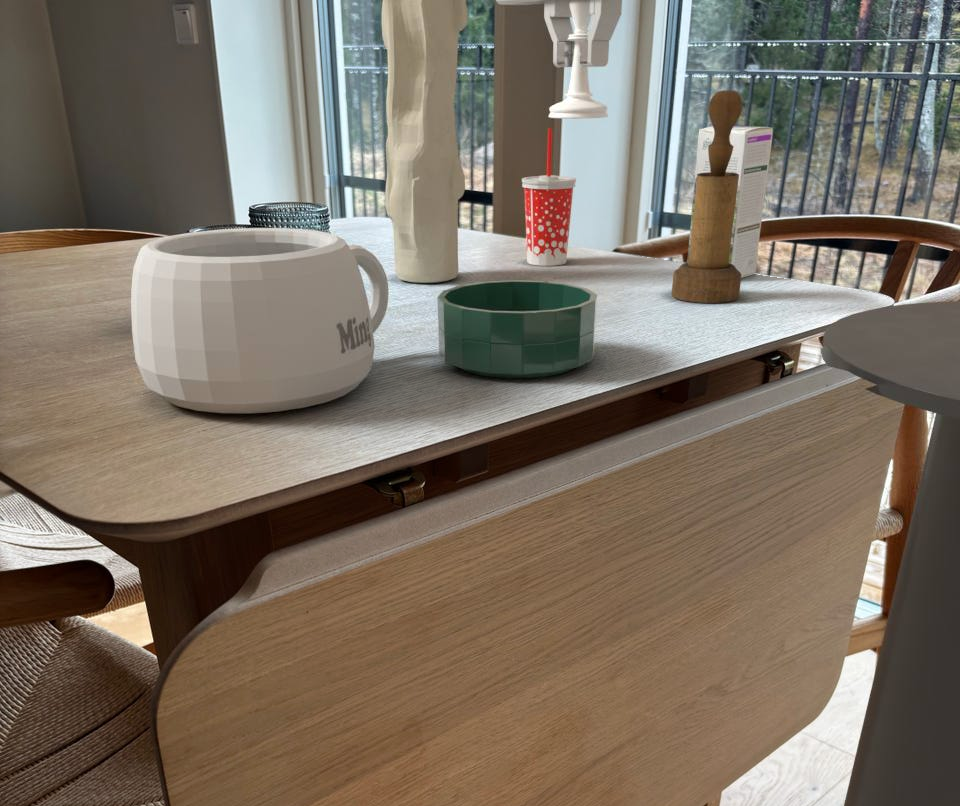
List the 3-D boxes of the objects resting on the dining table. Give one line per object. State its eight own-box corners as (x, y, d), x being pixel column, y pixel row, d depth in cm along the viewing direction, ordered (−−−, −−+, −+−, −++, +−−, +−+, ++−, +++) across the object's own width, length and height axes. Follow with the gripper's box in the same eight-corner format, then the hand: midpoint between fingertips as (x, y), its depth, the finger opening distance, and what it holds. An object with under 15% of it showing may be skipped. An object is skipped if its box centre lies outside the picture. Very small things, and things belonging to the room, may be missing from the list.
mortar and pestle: (683, 304, 94) (704, 91, 85) (662, 291, 100) (679, 89, 91) (749, 301, 95) (776, 90, 86) (724, 288, 101) (747, 89, 92)
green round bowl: (625, 364, 76) (629, 298, 73) (501, 392, 70) (502, 320, 67) (529, 335, 84) (530, 274, 82) (411, 357, 78) (409, 292, 76)
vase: (481, 278, 107) (479, -57, 92) (428, 290, 101) (417, -64, 86) (423, 269, 112) (413, -51, 97) (370, 280, 106) (350, -57, 91)
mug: (240, 441, 61) (217, 273, 56) (96, 392, 70) (65, 244, 65) (466, 369, 75) (464, 230, 70) (321, 337, 84) (309, 211, 79)
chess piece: (609, 115, 83) (617, -27, 78) (605, 118, 79) (612, -32, 74) (552, 115, 84) (555, -25, 79) (544, 118, 79) (547, -30, 74)
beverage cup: (583, 262, 115) (589, 128, 108) (545, 268, 111) (549, 130, 104) (547, 256, 119) (551, 126, 112) (510, 261, 116) (511, 128, 108)
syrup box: (757, 274, 108) (776, 125, 100) (728, 282, 104) (746, 128, 97) (712, 268, 111) (727, 124, 104) (683, 275, 107) (697, 126, 100)
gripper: (722, -171, 66) (701, 65, 73) (536, -126, 81) (534, 67, 88) (654, -181, 63) (639, 66, 70) (474, -133, 78) (476, 68, 85)
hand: (579, 67), depth 79 cm, fingers closed on chess piece
